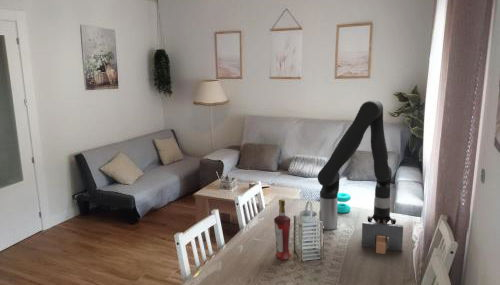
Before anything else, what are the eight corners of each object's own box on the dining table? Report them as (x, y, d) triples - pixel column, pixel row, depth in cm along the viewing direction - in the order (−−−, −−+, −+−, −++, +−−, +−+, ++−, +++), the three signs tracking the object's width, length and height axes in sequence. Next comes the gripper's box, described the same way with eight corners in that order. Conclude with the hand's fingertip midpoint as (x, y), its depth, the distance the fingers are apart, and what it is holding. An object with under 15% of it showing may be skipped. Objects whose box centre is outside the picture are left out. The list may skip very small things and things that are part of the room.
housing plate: (361, 246, 177) (362, 223, 175) (361, 244, 179) (362, 221, 177) (402, 251, 171) (403, 226, 169) (401, 249, 173) (402, 225, 171)
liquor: (272, 256, 171) (270, 198, 166) (286, 252, 174) (285, 196, 169) (279, 263, 165) (278, 204, 159) (294, 259, 167) (293, 201, 162)
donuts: (334, 197, 216) (332, 192, 225) (334, 213, 218) (332, 207, 227) (352, 197, 215) (349, 191, 224) (351, 213, 217) (348, 207, 226)
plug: (376, 252, 171) (376, 242, 170) (376, 234, 189) (377, 225, 188) (385, 253, 169) (385, 243, 168) (384, 235, 188) (385, 226, 187)
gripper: (366, 206, 181) (365, 238, 184) (397, 209, 176) (396, 242, 179) (367, 201, 188) (366, 232, 191) (397, 203, 183) (395, 235, 186)
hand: (380, 237), depth 185 cm, fingers closed on plug, 4 cm apart
